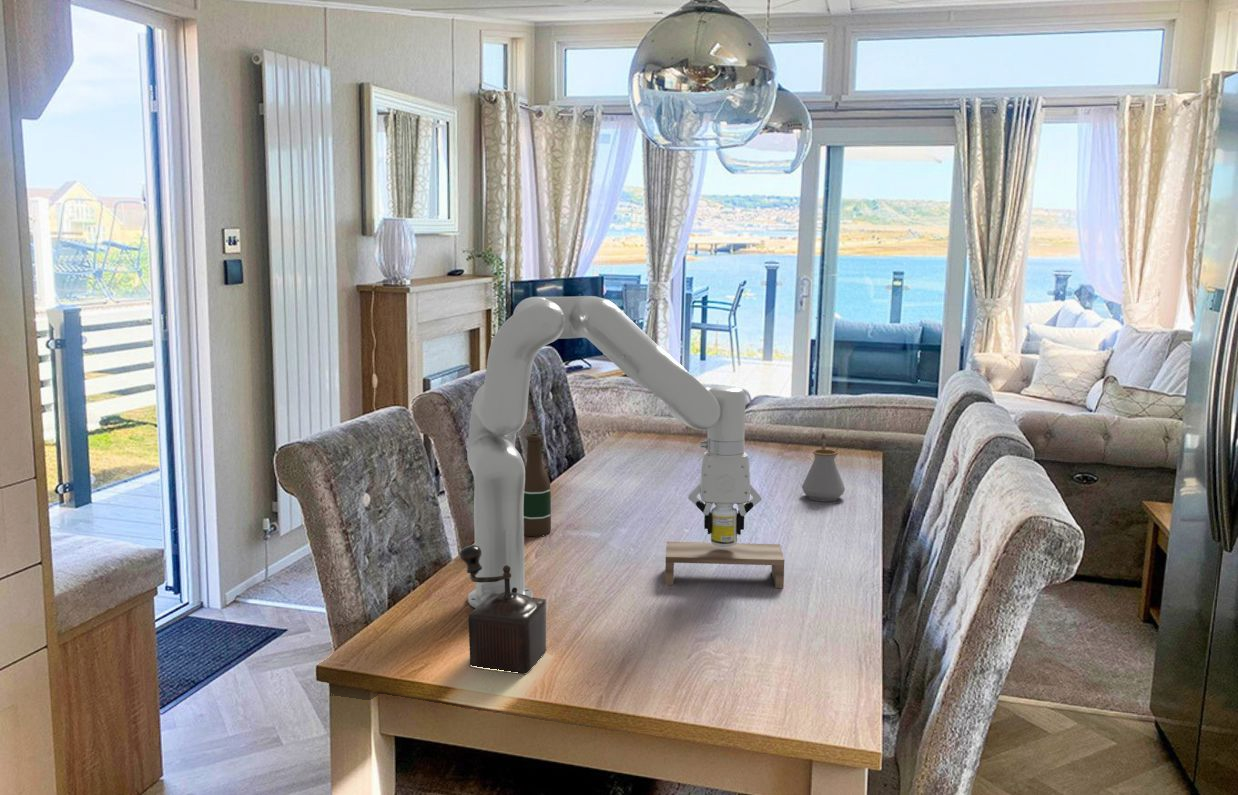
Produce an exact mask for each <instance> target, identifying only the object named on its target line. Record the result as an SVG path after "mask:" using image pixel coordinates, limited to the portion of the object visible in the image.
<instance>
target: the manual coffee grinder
mask: <svg viewBox="0 0 1238 795" xmlns="http://www.w3.org/2000/svg"><path fill="white" fill-rule="evenodd" d="M481 552H482V551H481V549H480V548H479V547H478V546H476V545H475V544H469V545H466V546H464V547H463V548H462V549H461V550H460V553H459V558H460V560H461V561H462V562H463V563H464V564H465V565H466V573H467V574H469V578H470V580H471V582H474V583H476V582H479V583H482V582H497V581H500V580H503V579H504V582H505V592H503V593H501V594H496V593H493V594H491V595H490V596H489V597H488V598H487V599H485V600H484V601H483V602H482V603H481V604H480V605H479V606H477V607H476V608H474V609H473V610H472V611H471V612H470V614H468V615H467V616H468V621H467V622H468V642H469V666H470V665H472V666H477V667H483V668H490V669H497V670H498V669H499V670H504V671H511V672H518V673H527V672H528V671H529V670H530V669H531V668H532V667H533V666H534V665H535V666H536V665H537V663H538V662H539V661H540V660H541V659H540V658H542V657H543V656H544V655H545V654H546V653H545V651H546V652H547V616H546V615H547V606H546V605H547V600H546V599H545V598H541V597H540V598H538V597H533V598H531V597H529V596H527V595H523V594H518V593H517V588H515V587H514V588H512V592H510V578H511V577H512V575H511V573H510V569H511V568H510V567H509V565H505V566H504V567H503V571H504V573H503V575H502V576H497V577H476V575H477V573H478V571H480V570H482V566H481V565H480V563H479V560H480V557H481ZM544 653H545V654H544ZM543 654H544V655H543ZM542 655H543V656H542ZM541 656H542V657H541ZM539 659H540V660H539ZM538 660H539V661H538ZM537 661H538V662H537ZM535 666H534V667H535ZM534 667H533V668H534ZM533 668H532V669H533ZM532 669H531V670H532ZM531 670H530V671H531ZM530 671H529V672H530ZM529 672H528V673H529ZM528 673H527V674H528Z"/></svg>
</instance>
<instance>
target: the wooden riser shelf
mask: <svg viewBox="0 0 1238 795" xmlns="http://www.w3.org/2000/svg"><path fill="white" fill-rule="evenodd" d="M665 546H666V548H665V571H664V572H665V577H664V578H665V580H664V581H665V582H664V583H665V586H674V574H675V573H674V572H675V564H703V565H704V564H709V565H710V564H711V565H713V564H714V565H747V566H750V565H751V566H754V565H755V566H771V574H772V579H773V582H774V587H775V589H784V587H785V586H784V585H785V583H784V582H785V557H784V553H783V551H782V548H781V547H782V546H781V544H777V543H744V542H739V543H738V542H737V543H736V544H735V545H733V546H729V547H721V546H716V545H713V544H712V543H711V542H702V541H700V542H699V541H697V542H696V541H695V542H694V541H693V542H692V541H691V542H690V541H666V545H665Z"/></svg>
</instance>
